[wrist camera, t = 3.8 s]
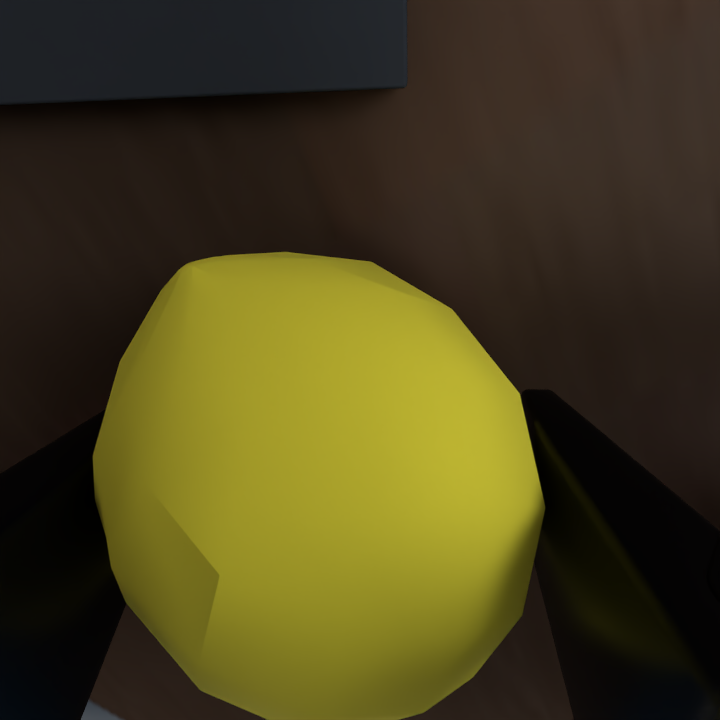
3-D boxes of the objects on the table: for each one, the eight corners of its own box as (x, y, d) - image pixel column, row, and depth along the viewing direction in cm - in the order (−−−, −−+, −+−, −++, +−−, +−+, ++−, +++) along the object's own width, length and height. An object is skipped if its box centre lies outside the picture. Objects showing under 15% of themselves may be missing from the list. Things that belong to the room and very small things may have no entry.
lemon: (95, 256, 9) (-200, 526, 5) (421, 102, 8) (440, 286, 3) (305, 543, 13) (246, 862, 8) (562, 474, 11) (668, 822, 7)
